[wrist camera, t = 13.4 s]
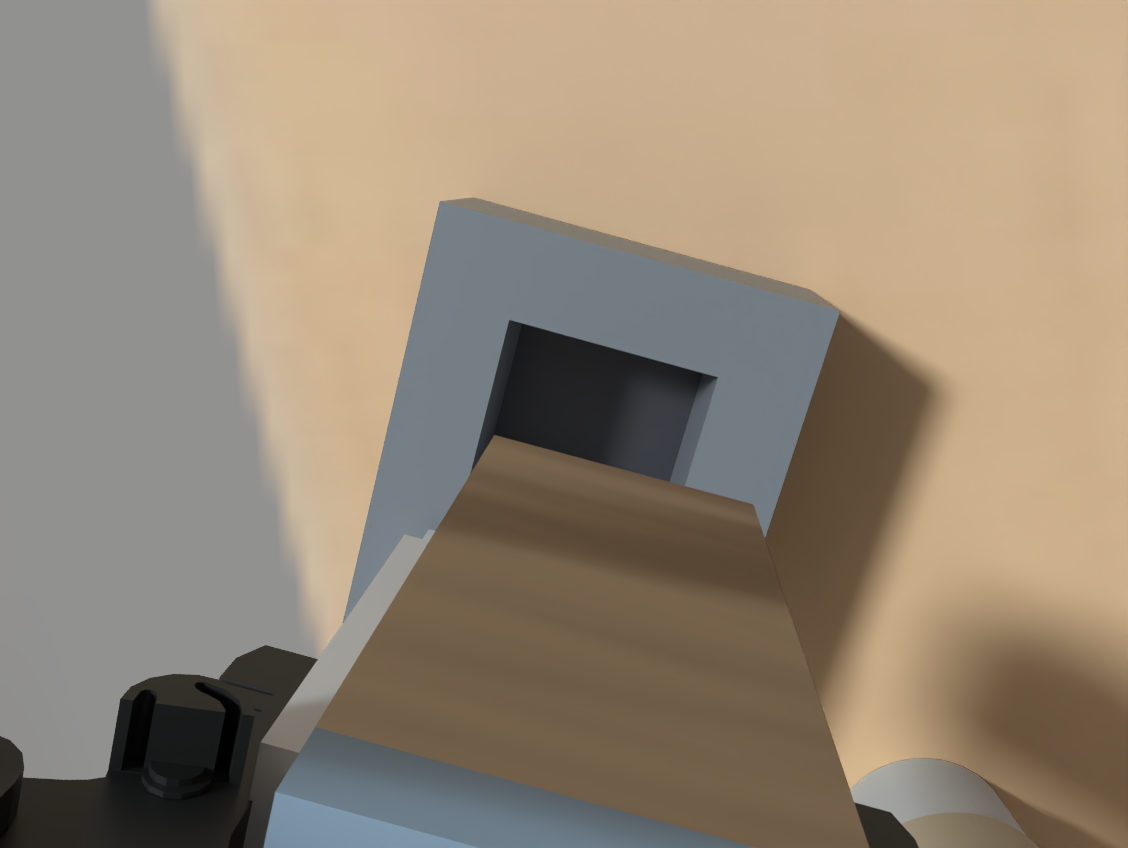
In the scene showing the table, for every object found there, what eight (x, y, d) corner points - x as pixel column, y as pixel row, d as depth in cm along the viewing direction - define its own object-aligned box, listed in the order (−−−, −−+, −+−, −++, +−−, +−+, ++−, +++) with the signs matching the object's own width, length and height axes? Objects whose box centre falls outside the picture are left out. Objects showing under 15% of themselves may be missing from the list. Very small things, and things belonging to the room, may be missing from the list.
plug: (494, 435, 20) (275, 791, 8) (753, 504, 20) (909, 966, 8) (435, 671, 21) (169, 1284, 9) (680, 738, 21) (723, 1441, 9)
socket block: (473, 197, 36) (439, 201, 31) (809, 289, 36) (840, 311, 30) (380, 588, 40) (334, 658, 34) (686, 673, 40) (692, 759, 34)
